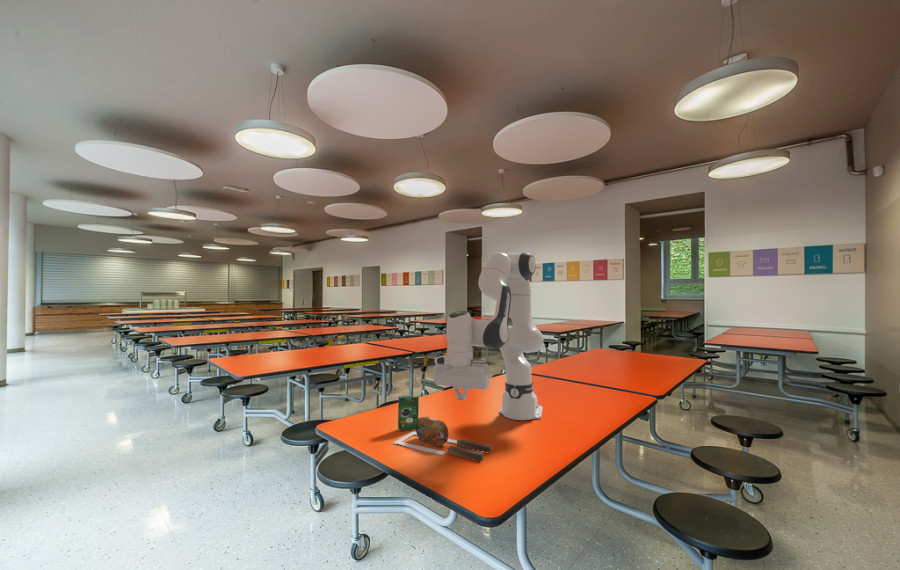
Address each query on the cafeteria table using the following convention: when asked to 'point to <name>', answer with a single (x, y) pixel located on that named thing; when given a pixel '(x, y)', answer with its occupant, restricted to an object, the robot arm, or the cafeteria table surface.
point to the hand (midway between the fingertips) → (461, 399)
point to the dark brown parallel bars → (469, 453)
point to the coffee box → (408, 412)
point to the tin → (432, 431)
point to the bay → (421, 446)
